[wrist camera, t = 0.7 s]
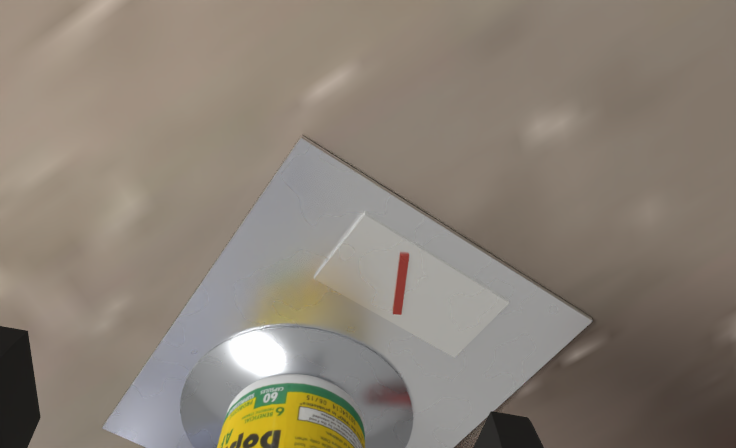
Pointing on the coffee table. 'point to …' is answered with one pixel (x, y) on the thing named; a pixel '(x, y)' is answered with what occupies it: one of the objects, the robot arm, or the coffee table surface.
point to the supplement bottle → (293, 415)
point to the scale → (348, 317)
